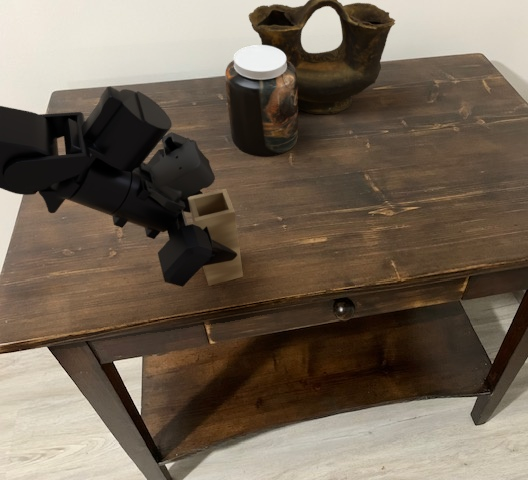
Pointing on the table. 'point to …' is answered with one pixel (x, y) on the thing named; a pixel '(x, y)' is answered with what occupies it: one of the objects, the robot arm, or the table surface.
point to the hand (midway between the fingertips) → (226, 234)
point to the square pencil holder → (218, 231)
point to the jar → (262, 100)
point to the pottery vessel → (331, 62)
